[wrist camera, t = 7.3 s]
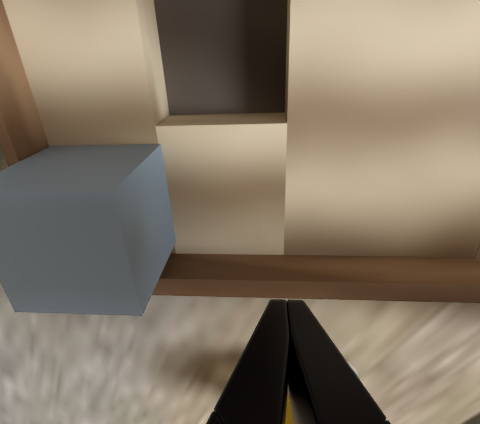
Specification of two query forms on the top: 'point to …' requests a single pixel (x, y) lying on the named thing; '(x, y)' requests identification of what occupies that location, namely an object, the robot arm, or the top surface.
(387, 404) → the top surface
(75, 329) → the top surface
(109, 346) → the top surface
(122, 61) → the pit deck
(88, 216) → the block
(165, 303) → the top surface
